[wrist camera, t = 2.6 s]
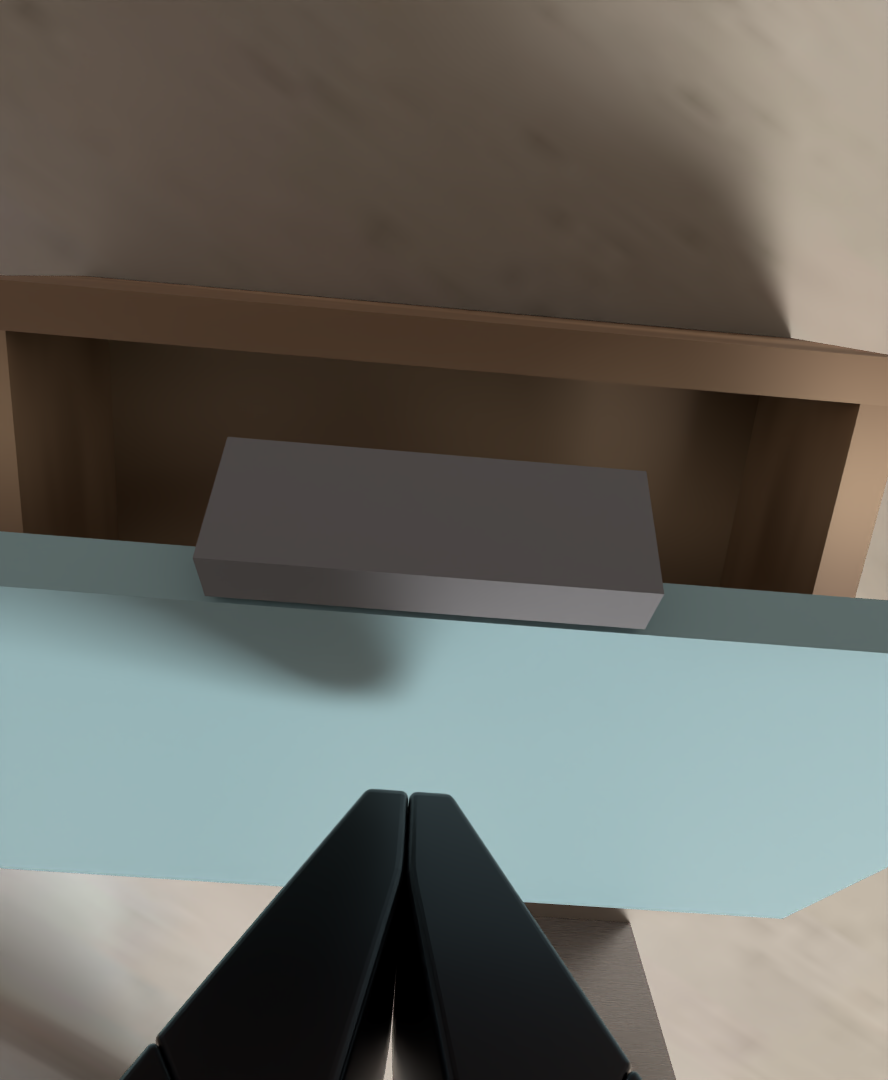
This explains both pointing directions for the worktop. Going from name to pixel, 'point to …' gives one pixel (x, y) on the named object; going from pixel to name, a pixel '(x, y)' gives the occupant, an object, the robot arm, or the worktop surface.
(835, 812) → the lid
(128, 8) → the worktop surface
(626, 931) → the block
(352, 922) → the robot arm
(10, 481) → the box
